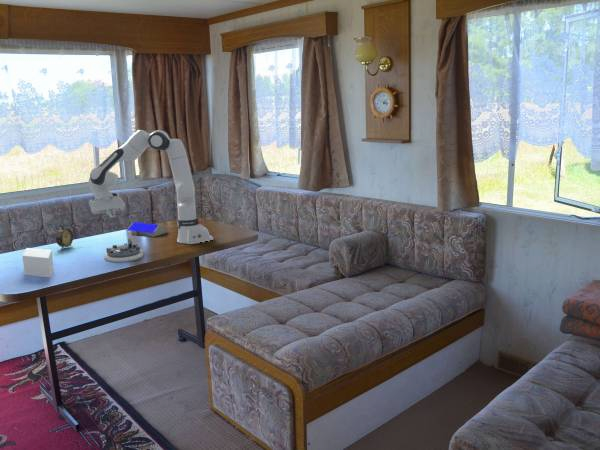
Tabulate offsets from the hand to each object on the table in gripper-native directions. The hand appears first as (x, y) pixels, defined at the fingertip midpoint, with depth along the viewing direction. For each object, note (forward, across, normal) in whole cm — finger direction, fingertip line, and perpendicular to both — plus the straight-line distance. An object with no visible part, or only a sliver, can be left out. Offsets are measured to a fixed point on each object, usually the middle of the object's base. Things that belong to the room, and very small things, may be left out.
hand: (113, 216), depth 323 cm
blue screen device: (+1, +32, +27) cm, 42 cm away
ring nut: (+28, -7, -4) cm, 29 cm away
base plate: (+29, -7, -3) cm, 30 cm away
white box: (+24, -50, +3) cm, 56 cm away
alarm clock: (-2, -21, +29) cm, 36 cm away
